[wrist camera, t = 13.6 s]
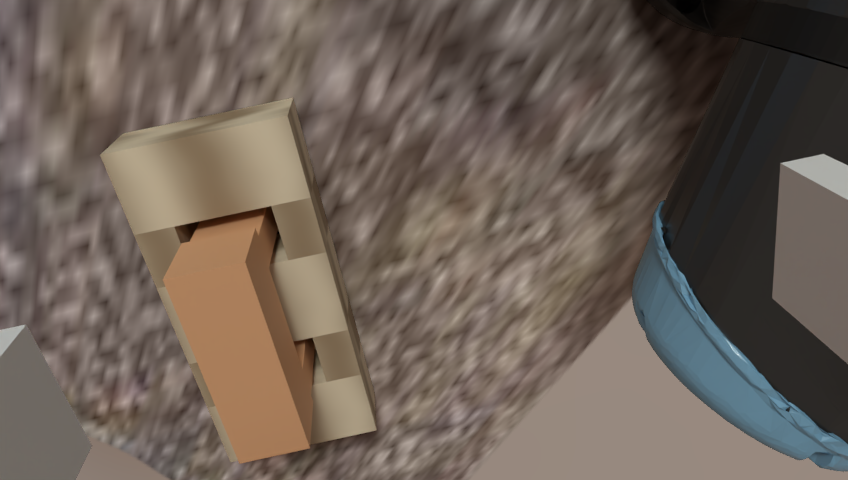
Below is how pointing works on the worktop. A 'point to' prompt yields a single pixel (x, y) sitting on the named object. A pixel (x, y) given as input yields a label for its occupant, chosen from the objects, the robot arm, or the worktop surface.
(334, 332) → the beige flat slotted piece
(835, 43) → the robot arm
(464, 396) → the worktop surface
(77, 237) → the worktop surface
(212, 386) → the orange-brown block
